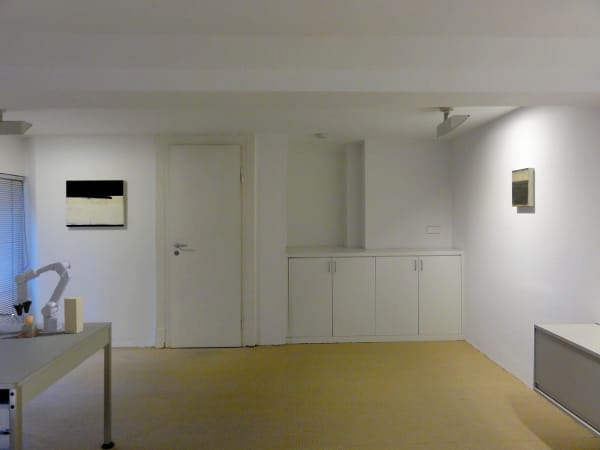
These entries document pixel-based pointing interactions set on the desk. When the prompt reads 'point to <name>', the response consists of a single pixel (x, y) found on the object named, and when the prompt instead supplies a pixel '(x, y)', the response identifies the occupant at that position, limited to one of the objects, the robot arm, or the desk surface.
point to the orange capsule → (28, 320)
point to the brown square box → (28, 334)
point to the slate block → (29, 328)
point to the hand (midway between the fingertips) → (23, 314)
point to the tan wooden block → (73, 314)
